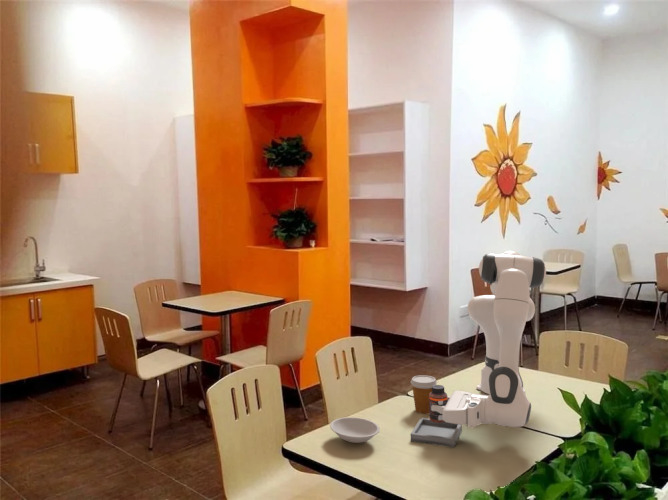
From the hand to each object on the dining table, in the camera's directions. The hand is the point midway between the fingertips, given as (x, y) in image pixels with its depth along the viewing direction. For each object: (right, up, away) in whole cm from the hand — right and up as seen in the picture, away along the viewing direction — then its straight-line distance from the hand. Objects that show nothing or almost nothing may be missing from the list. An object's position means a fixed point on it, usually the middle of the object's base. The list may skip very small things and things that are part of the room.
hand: (434, 403), depth 187 cm
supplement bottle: (+1, -6, 0) cm, 6 cm away
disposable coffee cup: (0, -9, +23) cm, 24 cm away
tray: (+1, -11, +1) cm, 11 cm away
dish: (-26, -12, -2) cm, 29 cm away
